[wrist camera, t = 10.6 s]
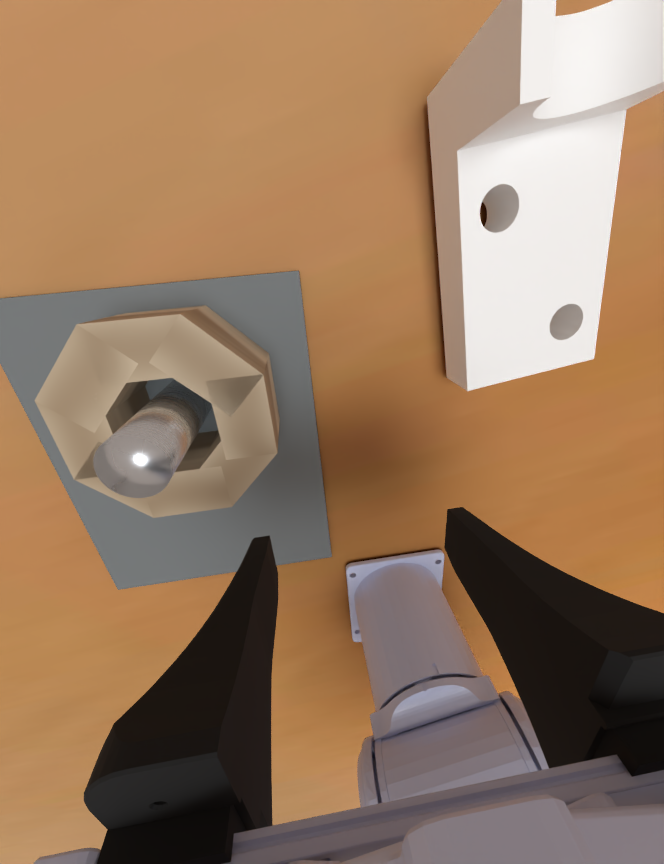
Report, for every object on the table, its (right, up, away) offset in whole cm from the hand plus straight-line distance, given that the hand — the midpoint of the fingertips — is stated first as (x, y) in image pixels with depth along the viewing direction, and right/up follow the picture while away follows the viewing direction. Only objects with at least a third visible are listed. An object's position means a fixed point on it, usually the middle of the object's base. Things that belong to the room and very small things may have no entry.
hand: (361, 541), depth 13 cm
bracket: (+8, +15, +5) cm, 17 cm away
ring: (-9, +6, +6) cm, 13 cm away
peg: (-9, +6, +6) cm, 13 cm away
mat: (-10, +3, +8) cm, 13 cm away
